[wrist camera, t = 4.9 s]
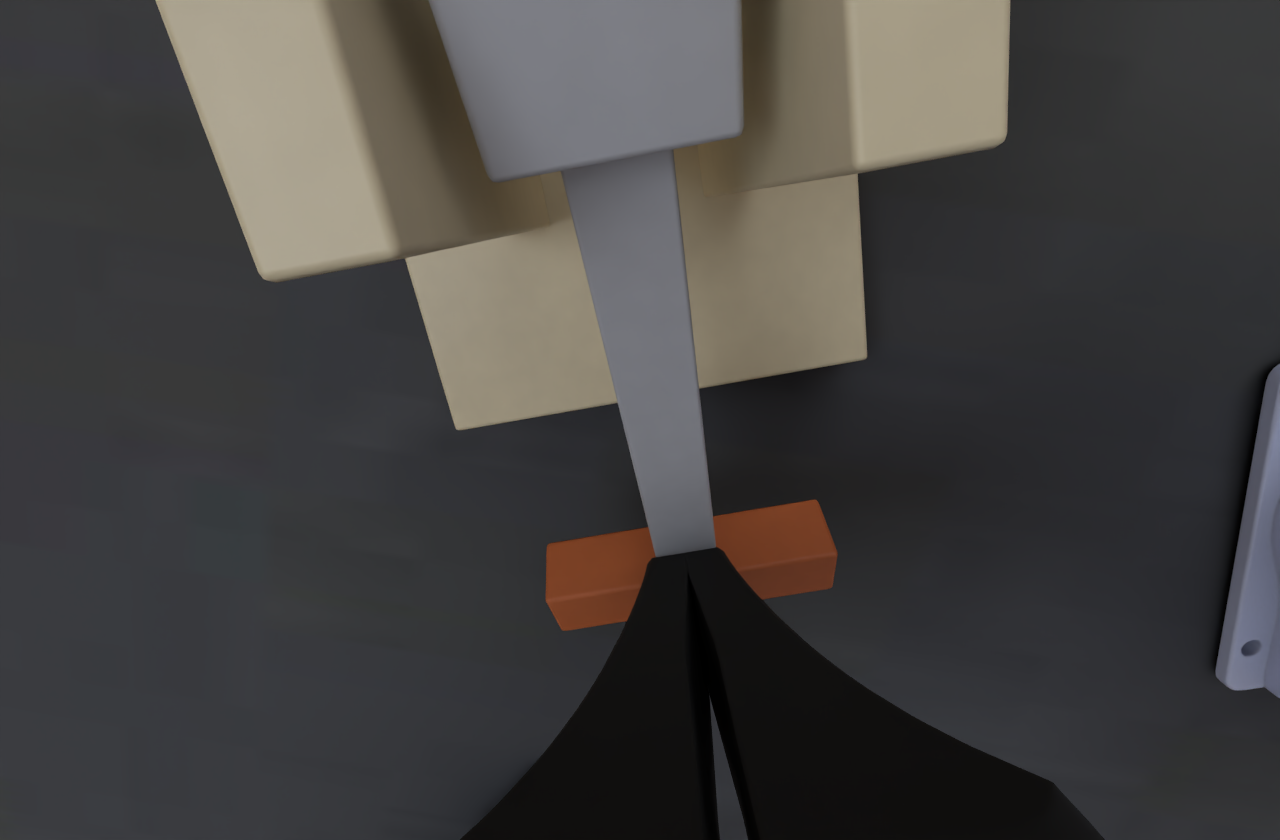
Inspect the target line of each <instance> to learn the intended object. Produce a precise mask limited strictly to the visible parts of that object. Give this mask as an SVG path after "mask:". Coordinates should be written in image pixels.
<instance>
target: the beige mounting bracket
mask: <svg viewBox="0 0 1280 840" xmlns="http://www.w3.org/2000/svg"><path fill="white" fill-rule="evenodd" d="M156 3H157V6H158V8H159V11H160V14H161V16H162V19H163V22H164V24H165V27H166V29H167V32H168V35H169V37H170V40H171V43H172V45H173V48H174V51H175V53H176V56H177V59H178V61H179V64H180V66H181V69H182V72H183V74H184V77H185V80H186V82H187V85H188V88H189V90H190V93H191V96H192V98H193V101H194V103H195V106H196V109H197V111H198V114H199V117H200V119H201V122H202V125H203V127H204V130H205V133H206V135H207V138H208V140H209V143H210V146H211V148H212V151H213V154H214V156H215V159H216V162H217V164H218V167H219V170H220V172H221V175H222V177H223V180H224V183H225V185H226V188H227V191H228V193H229V196H230V199H231V201H232V204H233V207H234V209H235V212H236V214H237V217H238V220H239V222H240V225H241V228H242V230H243V233H244V236H245V238H246V241H247V244H248V246H249V249H250V251H251V254H252V257H253V259H254V262H255V265H256V267H257V270H258V272H259V274H260V275H261V276H262V278H263V279H264V280H267V281H272V282H282V281H287V280H293V279H298V278H303V277H309V276H314V275H319V274H325V273H330V272H336V271H341V270H346V269H352V268H357V267H362V266H368V265H373V264H378V263H384V262H389V261H394V260H399V259H404V258H405V260H406V263H407V267H408V270H409V273H410V277H411V280H412V283H413V287H414V290H415V294H416V297H417V300H418V304H419V307H420V310H421V314H422V317H423V321H424V324H425V327H426V331H427V334H428V337H429V341H430V344H431V347H432V351H433V354H434V358H435V361H436V364H437V368H438V371H439V374H440V378H441V381H442V384H443V388H444V391H445V395H446V398H447V401H448V405H449V408H450V411H451V415H452V418H453V421H454V425H455V428H456V429H457V430H466V429H471V428H477V427H483V426H489V425H494V424H500V423H506V422H511V421H517V420H523V419H529V418H534V417H540V416H546V415H551V414H557V413H563V412H569V411H574V410H580V409H586V408H592V407H597V406H603V405H609V404H614V403H618V402H617V398H616V394H615V390H614V386H613V382H612V377H611V373H610V369H609V365H608V361H607V357H606V353H605V349H604V345H603V341H602V337H601V333H600V329H599V325H598V321H597V317H596V313H595V309H594V304H593V300H592V296H591V292H590V288H589V284H588V280H587V276H586V272H585V268H584V264H583V260H582V256H581V252H580V248H579V244H578V240H577V235H576V231H575V227H574V223H573V219H572V215H571V211H570V207H569V203H568V199H567V195H566V191H565V187H564V183H563V179H562V175H561V171H557V172H552V173H547V174H542V175H536V176H531V177H526V178H521V179H516V180H510V181H505V182H500V183H497V182H492V180H491V179H490V178H489V176H488V175H487V173H486V170H485V167H484V164H483V161H482V158H481V155H480V152H479V149H478V146H477V143H476V140H475V137H474V135H473V132H472V129H471V126H470V123H469V120H468V117H467V114H466V111H465V108H464V105H463V102H462V99H461V96H460V93H459V90H458V87H457V84H456V81H455V78H454V75H453V72H452V69H451V66H450V63H449V60H448V57H447V54H446V51H445V48H444V45H443V42H442V39H441V36H440V33H439V31H438V28H437V25H436V22H435V19H434V16H433V13H432V10H431V7H430V4H429V1H428V0H156ZM741 3H742V45H743V87H744V128H743V131H742V134H741V135H739V136H737V137H735V138H730V139H725V140H720V141H714V142H709V143H704V144H699V145H693V146H688V147H683V148H678V149H673V152H674V161H675V170H676V179H677V189H678V198H679V207H680V216H681V226H682V235H683V244H684V253H685V263H686V272H687V281H688V291H689V300H690V309H691V318H692V328H693V337H694V346H695V355H696V365H697V374H698V383H699V389H700V388H706V387H712V386H717V385H723V384H729V383H735V382H740V381H746V380H752V379H757V378H763V377H769V376H775V375H780V374H786V373H792V372H798V371H803V370H809V369H815V368H820V367H826V366H832V365H838V364H843V363H849V362H855V361H860V360H864V359H866V358H867V342H866V323H865V304H864V285H863V266H862V247H861V228H860V209H859V190H858V174H859V173H864V172H870V171H875V170H881V169H886V168H891V167H897V166H902V165H907V164H913V163H918V162H923V161H929V160H934V159H939V158H945V157H950V156H955V155H961V154H966V153H971V152H977V151H982V150H987V149H993V148H995V147H997V146H998V145H1000V144H1001V143H1003V142H1004V141H1005V138H1006V135H1007V117H1008V74H1009V31H1010V0H741Z"/></svg>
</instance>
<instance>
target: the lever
mask: <svg viewBox="0 0 1280 840" xmlns="http://www.w3.org/2000/svg"><path fill="white" fill-rule="evenodd" d="M428 1H429V4H430V7H431V10H432V13H433V16H434V19H435V22H436V25H437V28H438V31H439V33H440V36H441V39H442V42H443V45H444V48H445V51H446V54H447V57H448V60H449V63H450V66H451V69H452V72H453V75H454V78H455V81H456V84H457V87H458V90H459V93H460V96H461V99H462V102H463V105H464V108H465V111H466V114H467V117H468V120H469V123H470V126H471V129H472V132H473V135H474V137H475V140H476V143H477V146H478V149H479V152H480V155H481V158H482V161H483V164H484V167H485V170H486V173H487V175H488V176H489V178H490V179H491V180H492V182H497V183H500V182H505V181H510V180H516V179H521V178H526V177H531V176H536V175H542V174H547V173H552V172H557V171H561V175H562V179H563V183H564V187H565V191H566V195H567V199H568V203H569V207H570V211H571V215H572V219H573V223H574V227H575V231H576V235H577V240H578V244H579V248H580V252H581V256H582V260H583V264H584V268H585V272H586V276H587V280H588V284H589V288H590V292H591V296H592V300H593V304H594V309H595V313H596V317H597V321H598V325H599V329H600V333H601V337H602V341H603V345H604V349H605V353H606V357H607V361H608V365H609V369H610V373H611V377H612V382H613V386H614V390H615V394H616V398H617V402H618V406H619V410H620V414H621V418H622V422H623V426H624V430H625V434H626V438H627V442H628V446H629V451H630V455H631V459H632V463H633V467H634V471H635V475H636V479H637V483H638V487H639V491H640V495H641V499H642V503H643V507H644V511H645V515H646V520H647V524H648V527H645V528H639V529H633V530H627V531H621V532H615V533H609V534H603V535H597V536H591V537H585V538H579V539H573V540H567V541H561V542H555V543H550V544H548V545H547V558H546V602H547V604H548V606H549V608H550V609H551V611H552V613H553V615H554V617H555V619H556V620H557V622H558V624H559V626H560V628H561V629H562V630H564V631H567V630H574V629H580V628H586V627H592V626H599V625H605V624H611V623H617V622H624V621H627V620H628V617H629V615H630V613H631V611H632V608H633V606H634V604H635V601H636V598H637V596H638V593H639V590H640V588H641V585H642V582H643V579H644V575H645V572H646V567H647V564H648V562H649V561H650V560H651V559H652V558H654V557H662V556H668V555H674V554H680V553H686V552H692V551H698V550H704V549H710V548H715V547H718V548H720V549H721V550H723V551H724V552H725V554H726V556H727V557H728V559H729V560H730V562H731V563H732V565H733V566H734V567H735V569H736V570H737V571H738V573H739V574H740V575H741V576H742V577H743V579H744V580H745V581H746V582H747V584H748V585H749V586H750V587H751V588H752V589H753V590H754V592H755V593H756V594H757V595H758V596H759V597H760V598H761V599H768V598H774V597H780V596H786V595H793V594H799V593H805V592H811V591H818V590H824V589H829V588H831V587H832V586H833V580H834V573H835V567H836V561H837V554H838V553H837V550H836V547H835V545H834V542H833V539H832V537H831V534H830V531H829V529H828V526H827V523H826V521H825V518H824V515H823V513H822V510H821V508H820V505H819V503H818V501H817V500H808V501H802V502H796V503H790V504H784V505H778V506H772V507H766V508H759V509H753V510H747V511H741V512H735V513H729V514H723V515H717V516H713V513H712V504H711V494H710V485H709V476H708V467H707V457H706V448H705V439H704V430H703V420H702V411H701V402H700V392H699V383H698V374H697V365H696V355H695V346H694V337H693V328H692V318H691V309H690V300H689V291H688V281H687V272H686V263H685V253H684V244H683V235H682V226H681V216H680V207H679V198H678V189H677V179H676V170H675V161H674V152H673V149H678V148H683V147H688V146H693V145H699V144H704V143H709V142H714V141H720V140H725V139H730V138H735V137H737V136H739V135H741V134H742V131H743V128H744V87H743V45H742V3H741V0H428ZM685 558H686V557H685Z"/></svg>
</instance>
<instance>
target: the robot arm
mask: <svg viewBox="0 0 1280 840" xmlns="http://www.w3.org/2000/svg"><path fill="white" fill-rule="evenodd" d="M685 557H686V558H685ZM1215 673H1216V677H1217V678H1218V680H1219V681H1221V682H1222V683H1223V684H1224V685H1226V686H1227V687H1228V688H1230V689H1232V690H1248V689H1255V688H1262V687H1265V688H1266V689H1268V690H1269V691H1270V692H1272V693H1273V694H1274V695H1276V696H1277V697H1278V698H1280V364H1278V365H1277V366H1276V367H1274V368H1273V369H1272V371H1271V372H1270V373H1269V375H1268V377H1267V380H1266V384H1265V389H1264V395H1263V401H1262V407H1261V412H1260V418H1259V424H1258V429H1257V435H1256V441H1255V447H1254V452H1253V458H1252V464H1251V469H1250V475H1249V481H1248V487H1247V492H1246V498H1245V504H1244V509H1243V515H1242V521H1241V527H1240V532H1239V538H1238V544H1237V550H1236V555H1235V561H1234V567H1233V572H1232V578H1231V584H1230V590H1229V595H1228V601H1227V607H1226V612H1225V618H1224V624H1223V630H1222V635H1221V641H1220V647H1219V653H1218V658H1217V664H1216V670H1215ZM708 689H709V690H708ZM709 695H710V698H711V702H712V706H713V709H714V713H715V717H716V720H717V724H718V728H719V731H720V735H721V739H722V742H723V746H724V749H725V753H726V757H727V760H728V764H729V768H730V771H731V775H732V779H733V782H734V786H735V789H736V793H737V797H738V800H739V804H740V808H741V811H742V815H743V819H744V823H745V827H746V832H747V836H748V840H1105V839H1104V838H1103V837H1102V836H1101V835H1100V834H1099V833H1098V831H1097V830H1096V829H1095V828H1094V827H1093V826H1092V825H1091V823H1090V822H1089V821H1088V820H1087V819H1086V818H1085V817H1084V816H1083V815H1082V814H1081V813H1080V811H1079V810H1078V809H1077V808H1076V807H1075V806H1074V805H1073V804H1072V803H1071V802H1070V801H1069V800H1068V799H1067V797H1066V796H1065V795H1064V794H1063V793H1062V792H1061V791H1060V790H1059V789H1058V788H1057V787H1056V785H1055V784H1054V783H1052V782H1051V781H1049V780H1046V779H1044V778H1042V777H1039V776H1037V775H1035V774H1033V773H1030V772H1028V771H1026V770H1023V769H1021V768H1019V767H1017V766H1014V765H1012V764H1010V763H1007V762H1005V761H1003V760H1001V759H998V758H996V757H994V756H991V755H989V754H987V753H985V752H982V751H980V750H978V749H975V748H973V747H971V746H969V745H967V744H965V743H963V742H961V741H959V740H957V739H955V738H953V737H951V736H949V735H947V734H945V733H943V732H941V731H939V730H938V729H936V728H934V727H932V726H930V725H928V724H926V723H924V722H922V721H920V720H919V719H917V718H915V717H913V716H911V715H910V714H908V713H906V712H905V711H903V710H902V709H900V708H898V707H897V706H895V705H893V704H892V703H890V702H888V701H887V700H885V699H884V698H882V697H880V696H879V695H877V694H875V693H874V692H872V691H870V690H869V689H867V688H866V687H864V686H863V685H862V684H860V683H859V682H857V681H856V680H854V679H853V678H852V677H850V676H849V675H847V674H846V673H844V672H843V671H842V670H840V669H839V668H838V667H836V666H835V665H834V664H833V663H831V662H830V661H829V660H827V659H826V658H825V657H823V656H822V655H821V654H820V653H818V652H817V651H816V650H815V649H814V648H812V647H811V646H810V645H809V644H808V643H807V642H805V641H804V640H803V639H802V638H801V637H800V636H799V635H798V634H796V633H795V632H794V631H793V630H792V629H791V628H790V627H789V626H788V625H787V624H785V623H784V622H783V621H782V620H781V619H780V618H779V617H778V616H777V615H776V614H775V613H774V612H773V611H772V610H771V609H770V608H769V606H768V605H767V604H766V603H765V602H764V601H763V600H762V599H761V598H760V597H759V596H758V595H757V594H756V593H755V592H754V590H753V589H752V588H751V587H750V586H749V585H748V584H747V582H746V581H745V580H744V579H743V577H742V576H741V575H740V574H739V573H738V571H737V570H736V569H735V567H734V566H733V565H732V563H731V562H730V560H729V559H728V557H727V556H726V554H725V552H724V551H723V550H721V549H720V548H718V547H715V548H710V549H704V550H698V551H692V552H686V553H680V554H674V555H668V556H662V557H654V558H652V559H651V560H650V561H649V562H648V564H647V567H646V572H645V575H644V579H643V582H642V585H641V588H640V590H639V593H638V596H637V598H636V601H635V604H634V606H633V608H632V611H631V613H630V615H629V617H628V620H627V622H626V624H625V627H624V629H623V631H622V633H621V635H620V637H619V639H618V641H617V643H616V645H615V647H614V649H613V650H612V652H611V654H610V656H609V658H608V660H607V662H606V664H605V666H604V667H603V669H602V671H601V673H600V674H599V676H598V678H597V679H596V681H595V683H594V684H593V686H592V687H591V689H590V691H589V692H588V694H587V695H586V697H585V698H584V700H583V701H582V703H581V704H580V706H579V707H578V709H577V710H576V711H575V713H574V714H573V716H572V717H571V718H570V720H569V721H568V722H567V724H566V725H565V726H564V728H563V729H562V730H561V732H560V733H559V734H558V736H557V737H556V738H555V740H554V741H553V742H552V744H551V745H550V746H549V747H548V749H547V750H546V751H545V752H544V754H543V755H542V756H541V757H540V758H539V760H538V761H537V762H536V763H535V764H534V765H533V767H532V768H531V769H530V770H529V771H528V772H527V773H526V774H525V775H524V776H523V777H522V779H521V780H520V781H519V782H518V783H517V784H516V785H515V786H514V787H513V788H512V790H511V791H510V792H509V793H508V794H507V795H506V796H505V797H504V798H503V799H502V800H501V801H500V802H499V803H498V804H497V805H496V806H495V807H494V808H493V809H492V810H491V811H490V812H489V813H488V814H487V815H486V816H485V817H484V818H483V819H482V820H481V821H480V822H479V823H478V824H477V825H476V826H475V827H473V828H472V829H471V830H470V831H469V832H468V833H467V834H466V835H465V836H463V837H462V838H461V839H460V840H720V835H719V825H718V814H717V799H716V785H715V770H714V755H713V741H712V726H711V712H710V698H709Z"/></svg>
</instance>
